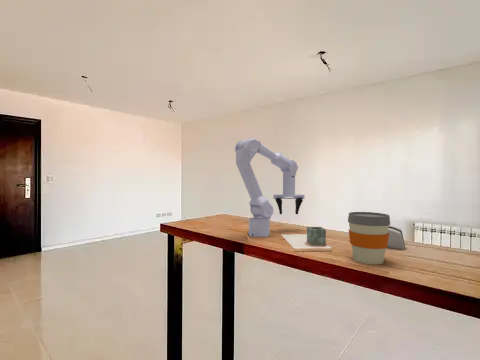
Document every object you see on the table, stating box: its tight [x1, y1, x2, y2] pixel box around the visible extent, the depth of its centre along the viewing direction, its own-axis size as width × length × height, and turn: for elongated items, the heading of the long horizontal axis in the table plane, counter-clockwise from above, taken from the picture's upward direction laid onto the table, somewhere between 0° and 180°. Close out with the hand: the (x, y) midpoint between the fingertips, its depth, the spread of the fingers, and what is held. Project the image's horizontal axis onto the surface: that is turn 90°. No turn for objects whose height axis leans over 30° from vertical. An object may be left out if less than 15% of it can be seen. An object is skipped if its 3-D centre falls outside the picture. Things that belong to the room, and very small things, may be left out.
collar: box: [306, 226, 327, 246], centre depth 104 cm, size 6×6×6 cm
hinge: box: [387, 224, 406, 251], centre depth 107 cm, size 17×5×10 cm, turn 51°
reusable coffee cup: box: [347, 211, 391, 265], centre depth 88 cm, size 13×13×15 cm
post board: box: [280, 233, 333, 253], centre depth 110 cm, size 14×24×6 cm, turn 2°
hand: (288, 214), depth 128 cm, fingers open, 7 cm apart
